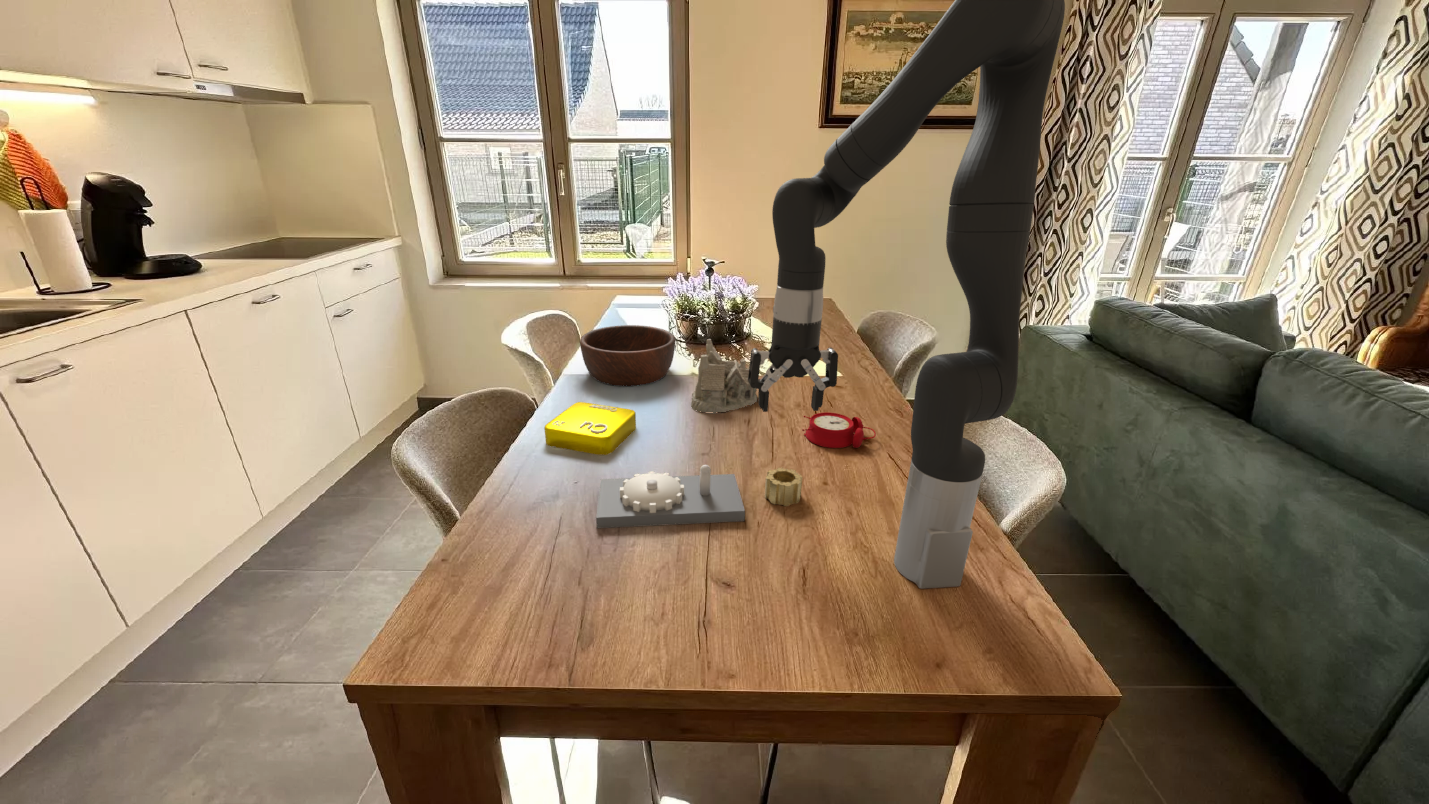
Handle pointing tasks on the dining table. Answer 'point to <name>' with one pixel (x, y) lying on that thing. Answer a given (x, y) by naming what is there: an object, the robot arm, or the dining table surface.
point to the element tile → (590, 428)
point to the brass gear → (783, 486)
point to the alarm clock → (835, 430)
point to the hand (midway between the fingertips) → (789, 409)
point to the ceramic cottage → (721, 384)
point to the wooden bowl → (628, 354)
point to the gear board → (669, 500)
